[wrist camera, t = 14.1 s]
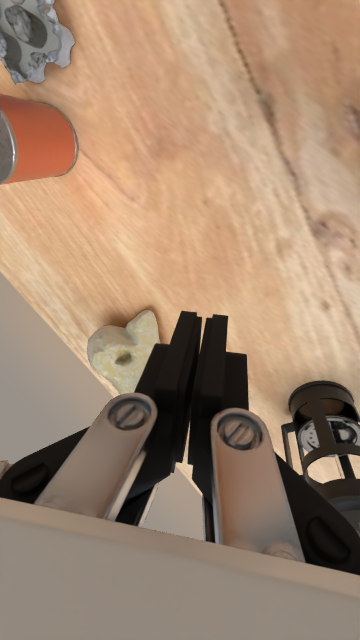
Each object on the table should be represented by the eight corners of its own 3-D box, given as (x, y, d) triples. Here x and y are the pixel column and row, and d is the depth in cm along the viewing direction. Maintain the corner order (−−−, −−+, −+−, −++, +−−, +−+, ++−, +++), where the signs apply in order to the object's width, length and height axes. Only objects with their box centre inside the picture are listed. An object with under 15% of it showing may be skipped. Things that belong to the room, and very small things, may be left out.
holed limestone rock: (108, 289, 44) (55, 377, 42) (124, 292, 38) (62, 396, 36) (180, 335, 52) (138, 411, 50) (204, 344, 45) (156, 431, 43)
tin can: (73, 103, 31) (-1, 83, 21) (82, 177, 35) (23, 188, 25) (12, 103, 32) (-84, 84, 22) (28, 175, 36) (-49, 184, 26)
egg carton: (-35, -47, 26) (-77, -77, 23) (30, -95, 24) (-5, -136, 21) (26, 93, 31) (-1, 85, 28) (85, 63, 29) (64, 51, 25)
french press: (345, 371, 42) (438, 566, 22) (366, 414, 45) (462, 616, 26) (268, 394, 46) (289, 572, 27) (291, 431, 50) (325, 614, 30)
